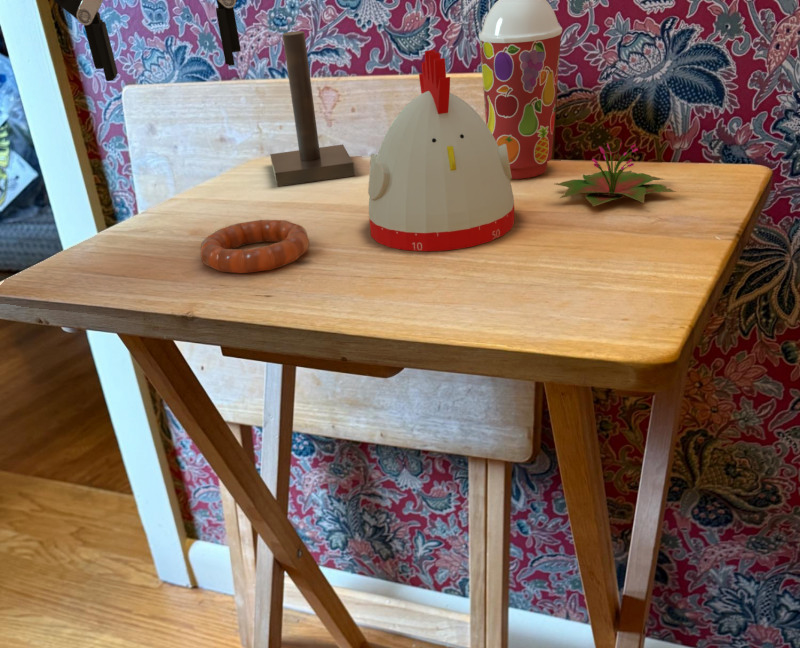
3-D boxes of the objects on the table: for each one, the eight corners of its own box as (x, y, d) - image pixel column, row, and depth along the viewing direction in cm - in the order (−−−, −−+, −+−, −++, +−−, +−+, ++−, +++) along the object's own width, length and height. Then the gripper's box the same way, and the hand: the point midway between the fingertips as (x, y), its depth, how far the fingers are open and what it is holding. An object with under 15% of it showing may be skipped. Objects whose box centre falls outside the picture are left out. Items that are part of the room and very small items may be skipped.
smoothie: (538, 157, 102) (540, -50, 90) (572, 174, 96) (579, -46, 84) (470, 169, 100) (463, -40, 88) (500, 188, 94) (497, -35, 82)
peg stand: (277, 186, 102) (254, 43, 93) (272, 166, 109) (250, 32, 100) (354, 176, 102) (339, 33, 94) (344, 157, 110) (329, 23, 101)
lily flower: (532, 189, 93) (532, 143, 90) (636, 170, 95) (639, 124, 92) (585, 221, 83) (587, 170, 81) (698, 199, 86) (704, 149, 83)
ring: (203, 282, 79) (198, 260, 78) (203, 246, 87) (198, 225, 86) (315, 266, 80) (311, 244, 79) (304, 232, 88) (301, 211, 87)
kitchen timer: (384, 260, 80) (367, 75, 71) (359, 215, 90) (341, 50, 82) (533, 237, 81) (534, 53, 72) (490, 195, 92) (487, 31, 83)
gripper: (234, -206, 66) (273, 51, 77) (-3, -184, 65) (70, 76, 75) (237, -216, 60) (279, 64, 71) (-23, -191, 59) (58, 92, 69)
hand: (171, 70), depth 73 cm, fingers open, 9 cm apart
